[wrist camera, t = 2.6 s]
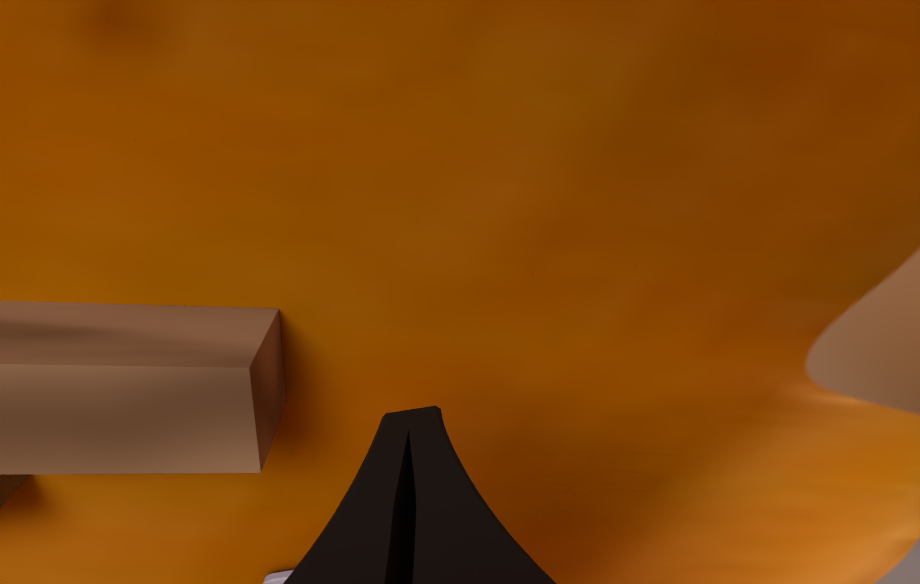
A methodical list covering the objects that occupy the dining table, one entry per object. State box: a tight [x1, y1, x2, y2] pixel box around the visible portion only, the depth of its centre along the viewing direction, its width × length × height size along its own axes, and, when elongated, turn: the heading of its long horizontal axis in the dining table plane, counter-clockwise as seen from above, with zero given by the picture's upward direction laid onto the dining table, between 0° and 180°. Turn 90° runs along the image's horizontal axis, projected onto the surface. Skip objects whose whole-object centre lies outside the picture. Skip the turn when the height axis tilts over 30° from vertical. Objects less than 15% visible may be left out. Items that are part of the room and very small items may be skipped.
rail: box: [0, 301, 286, 475], centre depth 17 cm, size 4×10×4 cm, turn 85°
